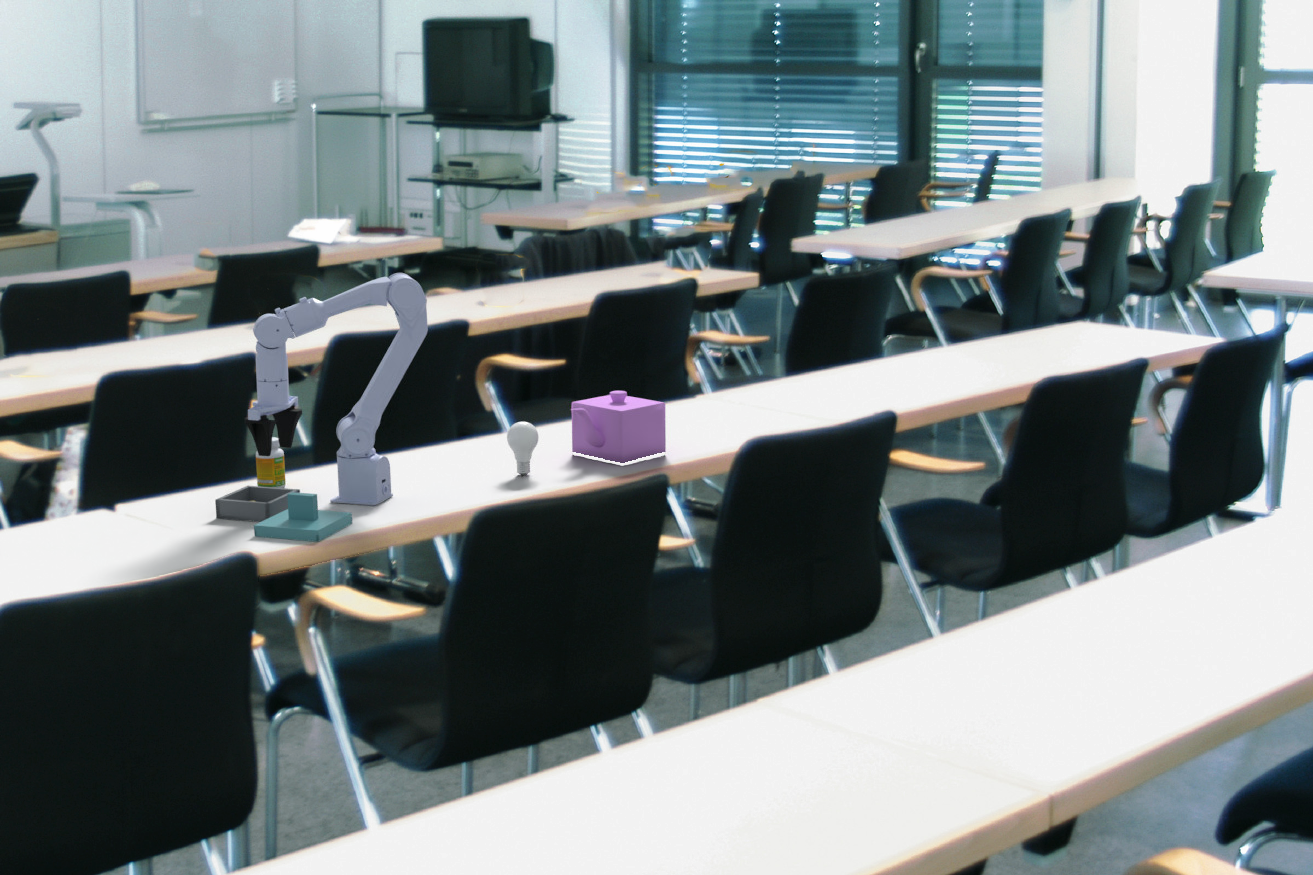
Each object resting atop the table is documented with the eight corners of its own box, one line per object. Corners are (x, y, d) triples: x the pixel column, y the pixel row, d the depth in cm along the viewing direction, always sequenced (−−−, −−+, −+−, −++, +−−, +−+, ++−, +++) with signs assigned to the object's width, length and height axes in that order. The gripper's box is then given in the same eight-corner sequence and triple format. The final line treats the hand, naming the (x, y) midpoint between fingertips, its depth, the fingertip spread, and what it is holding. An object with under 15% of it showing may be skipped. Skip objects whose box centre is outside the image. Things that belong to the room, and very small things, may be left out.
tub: (300, 507, 292) (299, 489, 291) (269, 522, 282) (268, 503, 281) (248, 503, 295) (247, 485, 294) (216, 518, 285) (215, 499, 284)
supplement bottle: (278, 491, 304) (275, 442, 302) (252, 490, 305) (249, 441, 303) (290, 484, 309) (287, 436, 307) (264, 483, 311) (262, 435, 308)
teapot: (547, 461, 329) (546, 395, 326) (631, 442, 346) (630, 380, 343) (597, 472, 318) (596, 405, 315) (681, 452, 336) (681, 388, 333)
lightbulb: (502, 477, 315) (500, 423, 312) (516, 470, 320) (515, 417, 318) (530, 479, 312) (529, 425, 310) (544, 472, 318) (543, 419, 316)
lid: (352, 523, 281) (350, 488, 279) (318, 541, 269) (316, 505, 268) (290, 518, 284) (289, 483, 283) (254, 536, 273) (252, 500, 271)
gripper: (273, 372, 296) (276, 442, 299) (232, 384, 283) (235, 457, 286) (307, 374, 294) (309, 444, 297) (266, 387, 281) (269, 460, 284)
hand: (275, 451), depth 291 cm, fingers open, 7 cm apart
